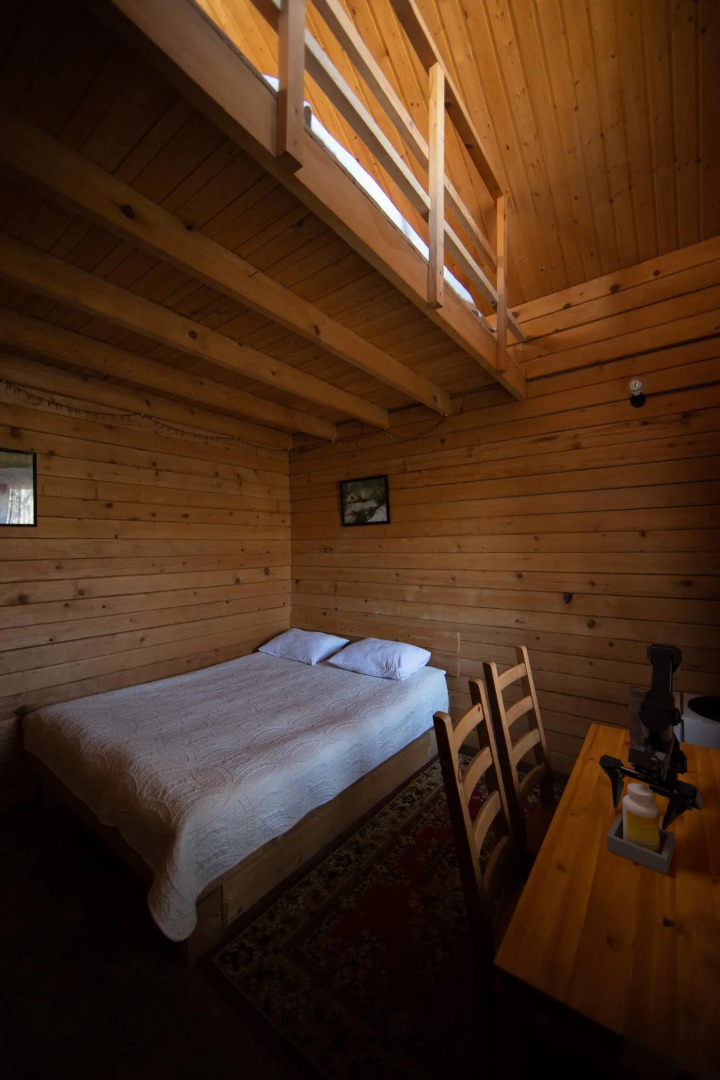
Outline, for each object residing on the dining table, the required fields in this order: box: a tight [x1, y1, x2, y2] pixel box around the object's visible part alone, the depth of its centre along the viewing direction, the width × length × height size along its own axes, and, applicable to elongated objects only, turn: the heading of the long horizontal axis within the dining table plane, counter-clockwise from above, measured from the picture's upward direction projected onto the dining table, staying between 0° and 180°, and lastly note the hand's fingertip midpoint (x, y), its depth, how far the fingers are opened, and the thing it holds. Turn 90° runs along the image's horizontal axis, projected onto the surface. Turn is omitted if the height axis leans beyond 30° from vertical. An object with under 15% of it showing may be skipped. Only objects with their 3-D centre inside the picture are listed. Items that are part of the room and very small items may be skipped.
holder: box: [606, 812, 676, 876], centre depth 93 cm, size 11×11×3 cm
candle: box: [627, 684, 650, 749], centre depth 137 cm, size 8×7×20 cm
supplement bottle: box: [622, 782, 661, 854], centre depth 93 cm, size 7×7×13 cm
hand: (638, 818), depth 93 cm, fingers open, 9 cm apart
